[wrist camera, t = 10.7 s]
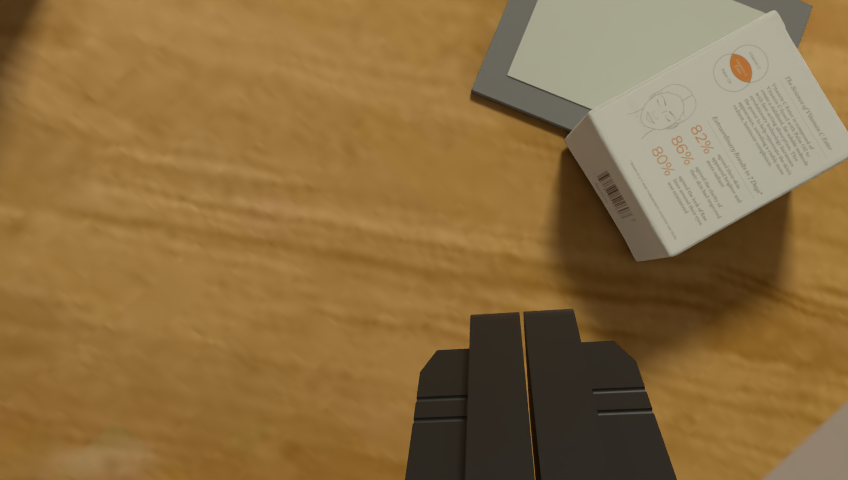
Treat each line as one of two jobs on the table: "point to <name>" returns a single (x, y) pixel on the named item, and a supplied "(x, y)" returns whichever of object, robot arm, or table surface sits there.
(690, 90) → the small box
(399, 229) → the table surface
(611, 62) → the e-reader
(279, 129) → the table surface
